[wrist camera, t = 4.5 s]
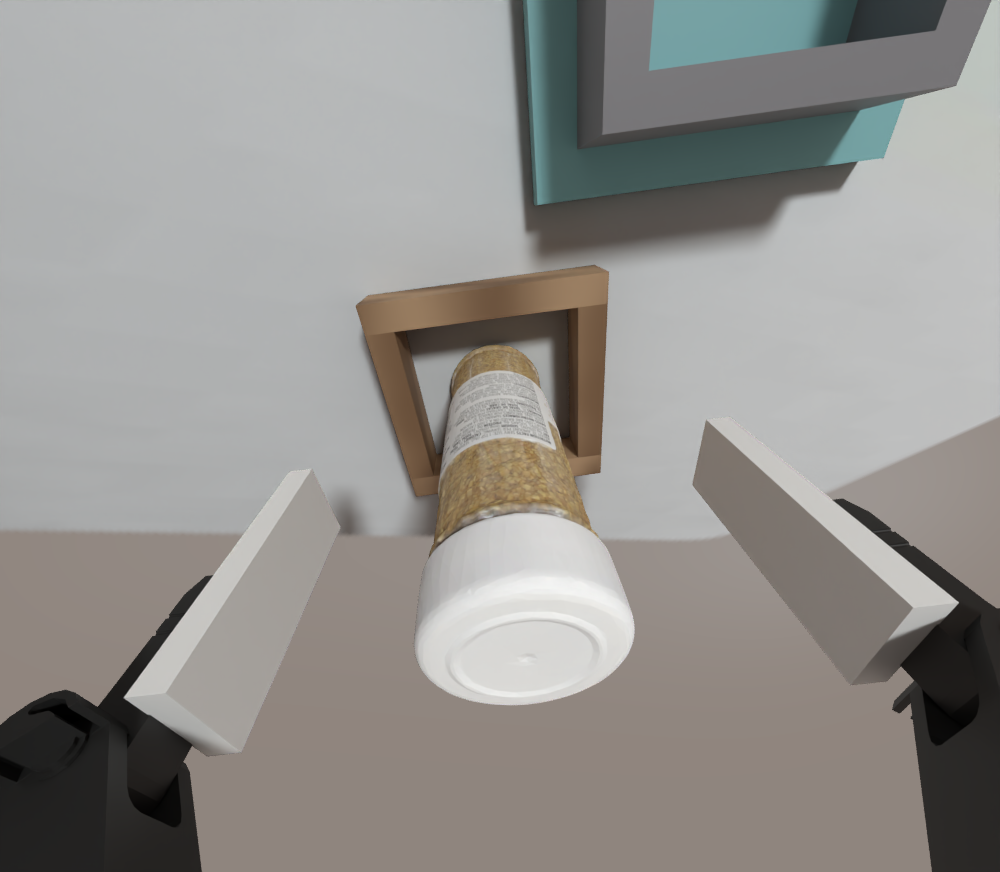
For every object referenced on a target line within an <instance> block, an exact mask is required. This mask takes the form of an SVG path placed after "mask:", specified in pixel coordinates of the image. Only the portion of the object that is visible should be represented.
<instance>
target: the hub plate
mask: <svg viewBox="0 0 1000 872" xmlns="http://www.w3.org/2000/svg"><path fill="white" fill-rule="evenodd" d="M990 2H991V0H523V15H524V34H525V52H526V70H527V88H528V107H529V125H530V143H531V161H532V179H533V198H534V205H542V204H549V203H557V202H564V201H571V200H579V199H586V198H593V197H601V196H608V195H615V194H622V193H630V192H637V191H644V190H652V189H659V188H666V187H674V186H681V185H688V184H696V183H703V182H710V181H718V180H725V179H732V178H740V177H747V176H754V175H761V174H769V173H776V172H783V171H791V170H798V169H805V168H813V167H820V166H827V165H835V164H842V163H849V162H857V161H864V160H871V159H879V158H884V155H885V152H886V150H887V147H888V144H889V141H890V139H891V136H892V133H893V130H894V127H895V125H896V122H897V119H898V116H899V114H900V111H901V108H902V105H903V103H904V100H905V99H906V98H910V97H914V96H918V95H922V94H926V93H930V92H934V91H938V90H942V89H945V88H949V87H953V86H956V85H957V82H958V80H959V77H960V75H961V73H962V70H963V68H964V65H965V63H966V60H967V58H968V56H969V53H970V51H971V48H972V46H973V43H974V41H975V39H976V36H977V34H978V31H979V29H980V26H981V24H982V22H983V19H984V17H985V14H986V12H987V9H988V7H989V5H990Z"/></svg>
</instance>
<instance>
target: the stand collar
mask: <svg viewBox="0 0 1000 872" xmlns="http://www.w3.org/2000/svg"><path fill="white" fill-rule="evenodd" d="M608 281H609V272H608V271H606V270H604V269H602V268H600V267H598V266H595V265H591V266H584V267H576V268H569V269H561V270H554V271H547V272H539V273H532V274H524V275H517V276H509V277H502V278H495V279H487V280H480V281H472V282H465V283H457V284H450V285H443V286H435V287H428V288H420V289H413V290H405V291H398V292H391V293H383V294H376V295H368V296H367V297H366V298H365V299H363V300H362V301H361V302H360V303H358V304H357V305H356V309H357V312H358V315H359V318H360V321H361V325H362V328H363V331H364V334H365V337H366V340H367V343H368V347H369V350H370V353H371V356H372V359H373V362H374V365H375V369H376V372H377V375H378V378H379V381H380V384H381V387H382V391H383V394H384V397H385V400H386V403H387V406H388V409H389V413H390V416H391V419H392V422H393V425H394V428H395V431H396V435H397V438H398V441H399V444H400V447H401V450H402V453H403V457H404V460H405V463H406V466H407V469H408V472H409V475H410V479H411V482H412V485H413V488H414V491H415V494H416V496H424V495H432V494H438V487H439V478H440V471H441V464H442V457H443V454H437V453H436V449H435V445H434V441H433V438H432V434H431V430H430V426H429V422H428V418H427V414H426V410H425V406H424V402H423V399H422V395H421V391H420V387H419V383H418V379H417V375H416V371H415V367H414V363H413V359H412V356H411V352H410V348H409V344H408V340H407V336H406V332H405V331H406V330H413V329H421V328H428V327H436V326H443V325H451V324H458V323H466V322H473V321H481V320H488V319H496V318H503V317H511V316H518V315H526V314H533V313H541V312H548V311H556V310H563V309H568V361H569V431H570V437H567V438H561V443H562V446H563V448H564V452H565V455H566V457H567V460H568V461H569V465H570V468H571V472H572V474H573V476H580V475H587V474H595V473H600V469H601V446H602V422H603V398H604V375H605V351H606V328H607V304H608Z"/></svg>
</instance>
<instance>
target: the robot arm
mask: <svg viewBox="0 0 1000 872" xmlns="http://www.w3.org/2000/svg"><path fill="white" fill-rule="evenodd" d="M692 485H693V486H694V488H695V489H696V490H697V491H698V493H699V494H700V495H701V496H702V498H703V499H704V500H705V501H706V503H707V504H708V505H709V507H710V508H711V509H712V510H713V512H714V513H715V514H716V515H717V517H718V518H719V519H720V521H721V522H722V523H723V524H724V526H725V527H726V528H727V529H728V531H729V532H730V533H731V535H732V536H733V537H734V538H735V540H736V541H737V542H738V543H739V545H741V547H742V548H743V550H744V551H745V552H746V553H747V555H748V556H749V557H750V559H751V560H752V561H753V562H754V564H755V565H756V566H757V568H758V569H759V570H760V571H761V573H762V574H763V575H764V576H765V578H766V579H767V580H768V581H769V583H770V584H771V585H772V586H773V588H774V589H775V590H776V592H777V593H778V594H779V596H780V597H781V598H782V599H783V601H784V602H785V603H786V604H787V606H788V607H789V608H790V609H791V611H792V612H793V613H794V615H795V616H796V617H797V618H798V620H799V621H800V622H801V623H802V625H803V626H804V627H805V629H807V631H808V632H809V634H810V635H811V636H812V637H813V639H814V640H815V641H816V642H817V644H818V645H819V646H820V648H821V649H822V650H823V651H824V653H825V654H826V655H827V656H828V658H829V659H830V660H831V662H832V663H833V664H834V665H835V667H836V668H837V669H838V670H839V672H840V673H841V674H842V675H843V677H844V678H845V679H846V681H847V682H848V683H849V684H850V685H858V684H867V683H876V682H886V681H888V680H889V679H890V677H891V676H892V675H893V674H894V673H895V672H896V671H897V670H898V669H899V668H900V667H902V668H903V669H904V670H905V671H906V672H907V673H908V674H909V675H910V676H911V677H912V678H913V679H914V682H913V683H912V684H911V685H910V686H909V687H908V688H907V689H906V690H905V691H904V692H903V693H902V694H901V695H900V696H899V697H898V698H897V699H896V700H895V701H894V704H893V709H892V710H894V711H896V712H898V713H901V712H902V711H903V710H904V709H905V708H906V707H907V706H908V705H909V704H910V703H911V709H912V716H911V719H913V724H914V733H915V741H916V748H917V756H918V764H919V771H920V780H921V788H922V796H923V803H924V811H925V819H926V827H927V835H928V843H929V851H930V859H931V867H932V872H1000V608H999V609H997V608H995V607H994V606H992V605H991V604H989V603H988V602H987V601H985V600H984V599H982V598H981V597H980V596H978V595H977V594H976V593H975V592H973V591H972V590H971V589H969V588H968V587H967V586H965V585H964V584H963V583H962V582H960V581H959V580H958V579H956V578H955V577H954V576H952V575H951V574H950V573H948V572H947V571H946V570H945V569H943V568H942V567H941V566H939V565H938V564H937V563H935V562H934V561H933V560H931V559H930V558H929V557H927V556H926V555H925V554H924V553H922V552H921V551H920V550H918V549H917V548H916V547H914V546H910V545H909V542H908V541H907V540H905V539H904V538H903V537H901V536H900V535H899V534H897V533H896V532H892V531H891V528H889V527H888V526H887V525H886V524H884V523H883V522H882V521H880V520H879V519H878V518H876V517H875V516H874V515H873V514H871V513H870V512H868V511H866V510H864V509H862V508H860V507H858V506H856V505H854V504H852V503H850V502H848V501H846V500H844V499H836V500H832V499H831V498H829V497H828V496H827V495H826V494H824V493H823V492H822V491H821V490H819V489H818V488H817V487H816V486H814V485H813V484H812V483H811V482H810V481H808V480H807V479H806V478H805V477H803V476H802V475H801V474H800V473H798V472H797V471H796V470H795V469H794V468H792V467H791V466H790V465H789V464H787V463H786V462H785V461H784V460H782V459H781V458H780V457H779V456H777V455H776V454H775V453H774V452H773V451H771V450H770V449H769V448H768V447H766V446H765V445H764V444H763V443H761V442H760V441H759V440H758V439H756V438H755V437H754V436H753V435H752V434H750V433H749V432H748V431H747V430H745V429H744V428H743V427H742V426H740V425H739V424H738V423H737V422H736V421H734V420H733V419H732V418H731V417H724V418H716V419H708V420H706V423H705V428H704V432H703V437H702V442H701V447H700V451H699V456H698V461H697V465H696V470H695V475H694V480H693V484H692ZM340 528H341V527H340V525H339V523H338V521H337V519H336V517H335V515H334V513H333V511H332V509H331V507H330V505H329V503H328V501H327V499H326V497H325V495H324V492H323V490H322V488H321V486H320V484H319V482H318V480H317V478H316V476H315V474H314V472H313V470H312V469H307V470H299V471H291V472H289V473H288V474H287V476H286V477H285V478H284V480H283V481H282V483H281V484H280V485H279V487H278V488H277V489H276V491H275V492H274V493H273V495H272V496H271V498H270V499H269V500H268V502H267V503H266V504H265V506H264V507H263V508H262V510H261V511H260V513H259V514H258V515H257V517H256V518H255V519H254V521H253V522H252V523H251V525H250V526H249V528H248V529H247V530H246V532H245V533H244V534H243V536H242V537H241V538H240V540H239V541H238V543H237V544H236V545H235V547H234V548H233V549H232V551H231V552H230V553H229V555H228V556H227V558H226V559H225V560H224V562H223V563H222V564H221V566H220V567H219V569H218V570H217V571H216V573H215V574H214V575H212V576H205V577H204V578H203V579H202V580H201V581H200V582H199V583H197V584H196V585H195V586H194V587H193V588H192V589H190V590H189V591H188V592H187V593H186V594H185V595H184V596H183V597H182V599H181V600H180V601H179V603H178V604H177V605H176V606H175V608H174V609H173V610H172V612H171V613H170V614H169V616H170V617H169V618H168V619H165V621H164V622H163V623H162V625H161V626H160V627H159V629H158V630H157V631H156V636H152V638H151V639H150V640H149V641H148V643H147V644H146V645H145V647H144V648H143V649H142V651H141V652H140V653H139V654H138V656H137V657H136V658H135V660H134V661H133V662H132V664H131V665H130V666H129V667H128V669H127V670H126V672H125V673H124V674H123V675H122V677H121V678H120V679H119V680H118V682H117V683H116V684H115V686H114V687H113V688H112V690H111V691H110V692H109V693H108V695H107V696H106V697H105V698H104V700H103V701H102V702H101V704H100V705H99V706H98V707H97V706H95V705H93V704H92V703H90V702H89V701H87V700H85V699H84V698H83V697H81V696H79V695H78V694H76V693H74V692H71V691H68V690H63V691H58V692H54V693H50V694H48V695H46V696H44V697H42V698H39V699H37V700H36V701H33V702H31V703H30V704H28V705H27V706H25V707H24V708H22V709H21V710H19V711H18V712H16V713H15V714H13V715H12V716H10V717H9V718H8V719H7V720H6V721H5V722H4V723H2V724H1V725H0V872H202V870H201V862H200V854H199V845H198V837H197V829H196V820H195V812H194V804H193V796H192V787H191V780H190V772H189V770H188V767H187V765H186V764H185V763H184V762H183V761H184V759H185V758H186V756H187V754H188V752H189V750H190V748H191V747H192V746H193V747H194V748H196V749H197V750H199V751H200V752H202V753H203V754H204V755H206V756H216V755H225V754H234V753H241V752H242V750H243V748H244V746H245V743H246V741H247V739H248V737H249V734H250V732H251V730H252V728H253V725H254V723H255V721H256V719H257V716H258V714H259V712H260V709H261V707H262V705H263V703H264V700H265V698H266V696H267V694H268V691H269V689H270V687H271V685H272V682H273V680H274V678H275V675H276V673H277V671H278V669H279V666H280V664H281V662H282V659H283V657H284V655H285V653H286V650H287V648H288V646H289V644H290V641H291V639H292V637H293V635H294V632H295V630H296V628H297V625H298V623H299V621H300V619H301V616H302V614H303V612H304V610H305V607H306V605H307V603H308V600H309V598H310V596H311V594H312V591H313V589H314V587H315V585H316V582H317V580H318V578H319V575H320V573H321V571H322V569H323V566H324V564H325V562H326V559H327V557H328V555H329V552H330V550H331V548H332V546H333V544H334V541H335V539H336V537H337V535H338V532H339V530H340Z"/></svg>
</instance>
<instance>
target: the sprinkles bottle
mask: <svg viewBox="0 0 1000 872" xmlns="http://www.w3.org/2000/svg"><path fill="white" fill-rule="evenodd" d="M451 394H452V401H451V404H450V408H449V413H448V420H447V427H446V435H445V442H444V449H443V457H442V464H441V471H440V478H439V487H438V496H439V506H438V512H437V523H436V529H435V537H434V545H433V546H432V548H431V551H430V555H429V559H428V561H427V563H426V565H425V567H424V570H423V573H422V579H421V585H420V591H419V599H418V606H417V617H416V628H415V637H414V649H415V656H416V659H417V662H418V665H419V667H420V668H421V670H422V671H423V672H424V674H425V675H426V676H427V677H428V678H429V680H430V681H431V682H433V683H434V684H435V685H437V686H438V687H440V688H441V689H443V690H445V691H446V692H448V693H450V694H452V695H455V696H457V697H460V698H463V699H467V700H470V701H475V702H481V703H486V704H498V705H525V704H533V703H540V702H546V701H551V700H555V699H559V698H563V697H566V696H569V695H572V694H575V693H578V692H580V691H582V690H584V689H586V688H588V687H591V686H593V685H595V684H597V683H598V682H600V681H601V680H603V679H604V678H606V677H607V676H609V675H610V674H611V673H612V672H613V671H614V670H615V669H616V668H617V667H618V666H619V665H620V664H621V663H622V661H623V660H624V659H625V657H626V656H627V655H628V653H629V651H630V648H631V646H632V643H633V639H634V629H635V628H634V620H633V615H632V613H631V609H630V606H629V603H628V601H627V598H626V595H625V592H624V590H623V587H622V584H621V581H620V579H619V576H618V574H617V571H616V569H615V566H614V564H613V561H612V559H611V556H610V554H609V552H608V550H607V548H606V547H605V545H604V544H603V543H602V542H601V541H600V539H599V538H598V535H597V534H596V533H595V532H594V531H593V530H592V529H591V526H590V522H589V519H588V516H587V514H586V512H585V509H584V506H583V502H582V499H581V496H580V494H579V491H578V488H577V486H576V483H575V479H574V477H573V474H572V472H571V468H570V465H569V461H568V460H567V457H566V455H565V452H564V448H563V446H562V443H561V438H560V434H559V431H558V428H557V425H556V423H555V420H554V417H553V415H552V412H551V409H550V407H549V404H548V401H547V399H546V397H545V395H544V393H543V392H542V390H541V387H540V384H539V376H538V372H537V370H536V368H535V367H534V365H533V364H532V362H531V361H530V360H529V359H528V358H527V357H526V356H525V355H524V354H522V353H521V352H519V351H518V350H515V349H514V348H512V347H509V346H501V345H488V346H483V347H480V348H478V349H475V350H473V351H472V352H470V353H469V354H467V355H466V356H465V357H464V358H463V359H462V360H461V361H460V362H459V364H458V366H457V367H456V369H455V371H454V373H453V376H452V384H451Z"/></svg>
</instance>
